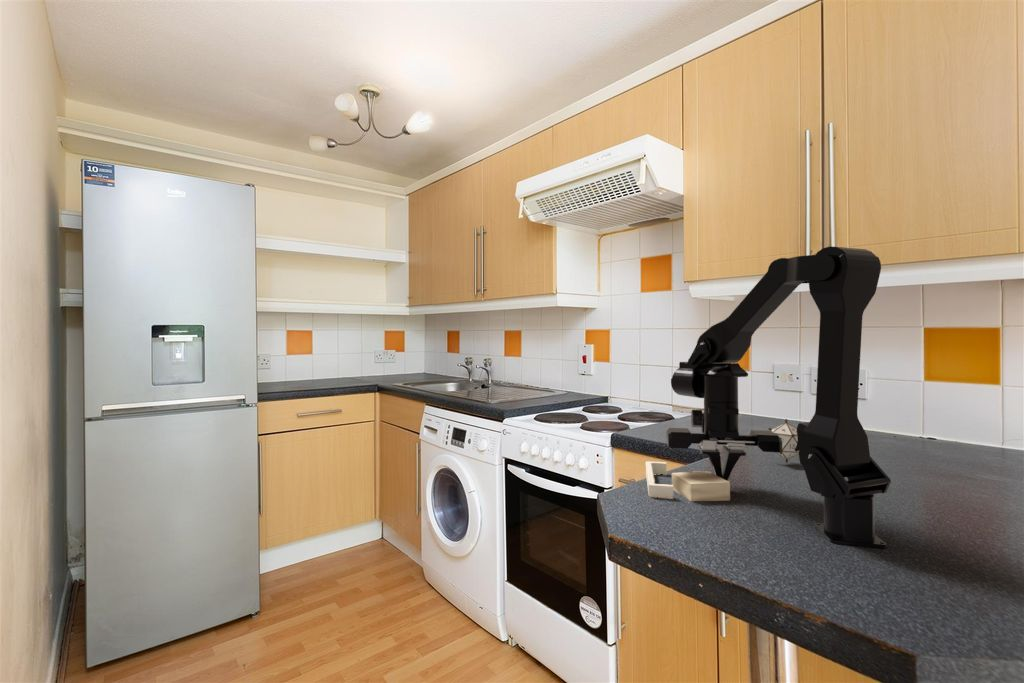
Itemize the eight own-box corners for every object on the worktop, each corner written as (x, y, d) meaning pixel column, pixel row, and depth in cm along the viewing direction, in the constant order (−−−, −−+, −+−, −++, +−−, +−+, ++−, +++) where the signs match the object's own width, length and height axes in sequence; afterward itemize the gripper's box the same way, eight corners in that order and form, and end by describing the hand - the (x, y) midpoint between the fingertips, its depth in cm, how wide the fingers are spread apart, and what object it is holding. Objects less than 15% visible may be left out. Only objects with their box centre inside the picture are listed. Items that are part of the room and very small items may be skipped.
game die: (764, 465, 107) (763, 420, 107) (764, 457, 115) (763, 414, 115) (811, 469, 103) (811, 422, 103) (808, 461, 111) (808, 417, 111)
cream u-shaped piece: (673, 504, 82) (673, 486, 82) (648, 502, 83) (648, 485, 83) (666, 477, 99) (666, 462, 99) (645, 476, 99) (645, 461, 99)
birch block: (730, 505, 82) (729, 482, 82) (690, 507, 81) (690, 483, 81) (708, 493, 89) (708, 471, 89) (671, 494, 88) (671, 472, 88)
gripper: (765, 397, 94) (766, 478, 94) (664, 395, 98) (664, 472, 98) (782, 404, 83) (783, 495, 83) (668, 402, 87) (669, 488, 87)
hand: (721, 487), depth 88 cm, fingers closed
